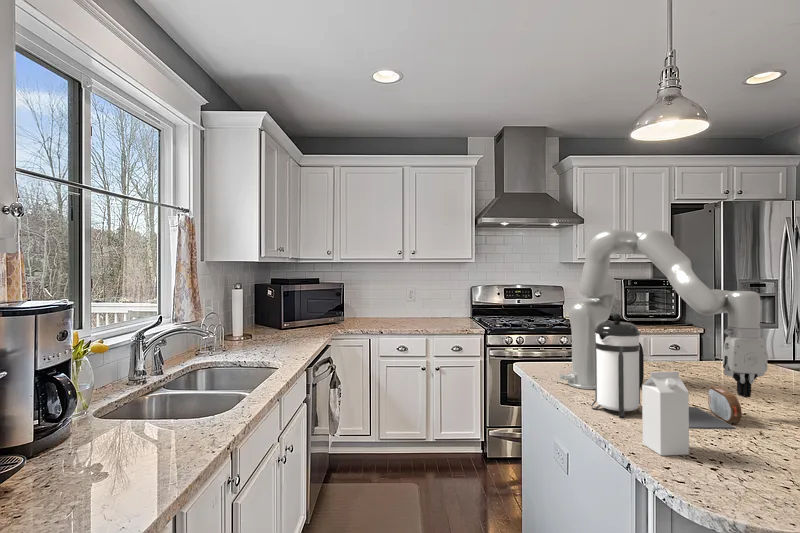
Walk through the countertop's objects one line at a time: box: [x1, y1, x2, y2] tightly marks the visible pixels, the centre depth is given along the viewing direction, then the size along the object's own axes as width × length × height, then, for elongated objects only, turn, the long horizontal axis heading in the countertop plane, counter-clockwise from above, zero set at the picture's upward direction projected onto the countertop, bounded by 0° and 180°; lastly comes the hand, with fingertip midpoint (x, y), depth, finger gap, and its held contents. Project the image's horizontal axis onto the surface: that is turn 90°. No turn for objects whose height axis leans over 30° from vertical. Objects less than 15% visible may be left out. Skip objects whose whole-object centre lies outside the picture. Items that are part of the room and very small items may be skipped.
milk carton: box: [641, 371, 690, 457], centre depth 112 cm, size 7×7×19 cm
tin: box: [707, 385, 743, 424], centre depth 134 cm, size 15×3×8 cm, turn 168°
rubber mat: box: [689, 406, 736, 430], centre depth 135 cm, size 12×18×1 cm
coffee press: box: [591, 313, 645, 419], centre depth 143 cm, size 17×16×30 cm
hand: (744, 395), depth 134 cm, fingers closed
